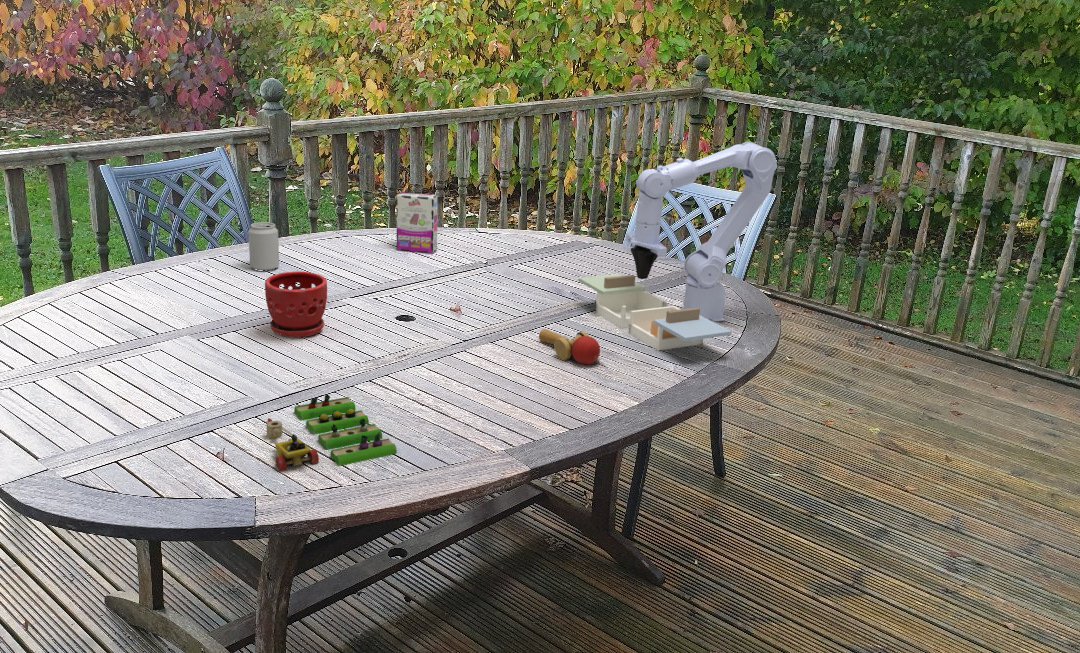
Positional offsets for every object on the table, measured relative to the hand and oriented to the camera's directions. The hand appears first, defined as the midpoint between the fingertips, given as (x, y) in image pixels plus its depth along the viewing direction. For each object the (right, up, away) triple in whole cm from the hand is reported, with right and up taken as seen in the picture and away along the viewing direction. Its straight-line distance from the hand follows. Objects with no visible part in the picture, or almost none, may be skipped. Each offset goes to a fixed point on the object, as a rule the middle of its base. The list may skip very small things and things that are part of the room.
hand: (642, 278), depth 230 cm
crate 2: (+4, -15, -10) cm, 19 cm away
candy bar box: (-60, +11, +53) cm, 81 cm away
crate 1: (-3, -10, +2) cm, 11 cm away
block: (+3, -15, -13) cm, 20 cm away
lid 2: (+9, -12, -20) cm, 25 cm away
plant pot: (-78, -13, -16) cm, 80 cm away
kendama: (-18, -18, -21) cm, 33 cm away
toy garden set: (-62, -31, -64) cm, 95 cm away
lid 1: (-7, -1, +8) cm, 10 cm away
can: (-97, +4, +28) cm, 101 cm away
